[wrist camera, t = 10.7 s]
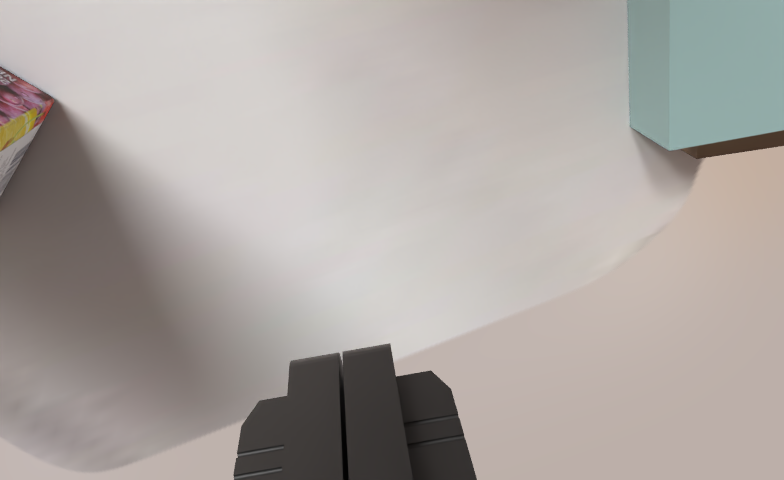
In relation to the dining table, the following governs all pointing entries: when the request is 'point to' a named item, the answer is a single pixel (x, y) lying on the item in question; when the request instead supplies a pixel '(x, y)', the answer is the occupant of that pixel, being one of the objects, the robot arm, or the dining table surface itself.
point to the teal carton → (705, 69)
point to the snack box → (18, 120)
